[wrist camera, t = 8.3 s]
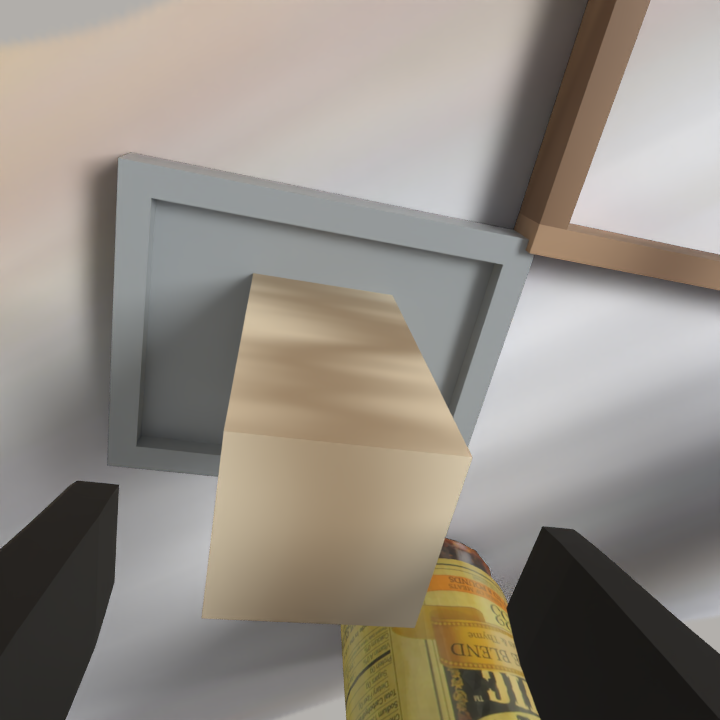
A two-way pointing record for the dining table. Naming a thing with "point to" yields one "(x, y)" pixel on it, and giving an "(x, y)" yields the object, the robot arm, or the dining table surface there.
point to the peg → (330, 464)
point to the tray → (286, 260)
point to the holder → (575, 153)
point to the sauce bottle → (440, 654)
